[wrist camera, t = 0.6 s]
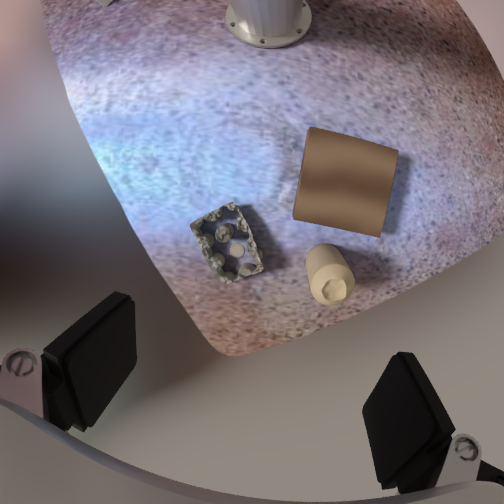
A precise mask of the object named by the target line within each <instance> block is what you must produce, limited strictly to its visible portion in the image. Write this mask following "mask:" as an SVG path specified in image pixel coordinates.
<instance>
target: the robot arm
mask: <svg viewBox="0 0 504 504" xmlns="http://www.w3.org/2000/svg"><path fill="white" fill-rule="evenodd" d="M229 1H230V4H229V6H228V8H227V11H226V23H227V26H228V28H229V30H230V31H231V33H232V34H233V35H234V36H235V37H236V38H237V39H239V40H240V41H242V42H244V43H246V44H248V45H251V46H255V47H260V48H278V47H283V46H287V45H290V44H292V43H294V42H296V41H298V40H299V39H301V38H302V37H303V36H304V35H305V34H306V33H307V31H308V30H309V28H310V25H311V20H312V14H311V9H310V7H309V5H308V4H307V2H306V1H305V0H229ZM233 26H234V27H233ZM263 42H264V44H262V43H263ZM43 351H44V353H43V354H42V355H41V356H39V354H38V353H37V352H35V351H34V350H32V349H29V348H17V349H14V350H12V351H10V352H9V353H7V354H6V356H5V357H4V358H3V361H2V365H0V504H504V472H503V471H501V470H500V469H497V468H496V467H494V466H491V465H490V464H488V463H486V462H484V461H482V460H481V448H480V445H479V443H478V442H477V441H476V440H475V438H473V437H471V436H470V435H467V434H458V435H456V436H455V437H454V438H453V439H452V437H451V435H452V433H453V432H454V431H455V430H456V429H455V427H454V425H453V423H452V421H451V419H450V417H449V415H448V414H447V411H446V410H445V408H444V406H443V404H442V402H441V400H440V399H439V396H438V395H437V393H436V391H435V389H434V388H433V386H432V384H431V382H430V380H429V379H428V377H427V375H426V374H425V372H424V370H423V368H422V367H421V365H420V363H419V362H418V360H417V358H416V357H415V355H414V354H413V353H409V352H398V353H397V354H396V355H393V356H392V358H391V359H390V361H389V363H388V365H387V367H386V369H385V370H384V372H383V374H382V376H381V377H380V379H379V381H378V383H377V385H376V386H375V388H374V389H373V391H372V393H371V394H370V396H369V398H368V399H367V401H366V403H365V404H364V406H363V410H362V414H363V418H364V422H365V426H366V430H367V434H368V439H369V443H370V447H371V452H372V457H373V461H374V466H375V471H376V476H377V480H378V482H379V483H381V486H382V490H384V489H392V488H395V487H398V492H397V494H396V495H395V496H389V497H383V498H376V499H367V500H356V501H341V502H293V501H279V500H268V499H260V498H252V497H245V496H239V495H233V494H227V493H222V492H218V491H213V490H209V489H204V488H200V487H196V486H192V485H188V484H185V483H182V482H178V481H175V480H171V479H168V478H165V477H162V476H159V475H156V474H154V473H151V472H148V471H145V470H143V469H140V468H138V467H135V466H133V465H130V464H128V463H126V462H123V461H121V460H119V459H117V458H114V457H112V456H110V455H108V454H106V453H104V452H102V451H100V450H98V449H96V448H94V447H92V446H90V445H88V444H86V443H84V442H82V441H80V440H78V439H77V438H75V437H73V436H71V435H70V434H69V432H68V430H69V429H70V428H71V426H73V427H75V428H77V429H78V430H80V431H82V432H85V430H86V429H87V427H92V426H93V425H94V424H95V423H96V421H97V419H98V418H99V417H100V415H101V414H102V412H103V411H104V410H105V408H106V407H107V405H108V404H109V402H110V401H111V400H112V398H113V397H114V395H115V394H116V393H117V391H118V390H119V388H120V387H121V385H122V384H123V383H124V381H125V380H126V378H127V377H128V375H129V374H130V373H131V371H132V370H133V369H134V367H135V365H136V362H137V353H136V330H135V302H134V301H132V300H131V297H130V296H129V295H126V294H123V293H120V292H116V291H115V292H113V293H112V294H111V295H109V296H108V297H107V298H106V299H104V300H103V301H102V302H100V303H99V304H98V305H97V306H95V307H94V308H93V309H91V310H90V311H89V312H88V313H86V314H85V315H84V316H83V317H81V318H80V319H79V320H78V321H77V322H75V323H74V324H73V325H72V326H70V327H69V328H68V329H67V330H66V331H64V332H63V333H62V334H61V335H60V336H58V337H57V338H56V339H55V340H54V341H53V342H51V343H50V344H49V345H48V346H47V347H46V348H44V349H43Z"/></svg>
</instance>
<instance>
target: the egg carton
mask: <svg viewBox="0 0 504 504" xmlns="http://www.w3.org/2000/svg"><path fill="white" fill-rule="evenodd" d="M224 206H226V207H227V208H228V209H229V210H232V211H234V210H237V211H238V212H239V215H240V216H239V218H238V219H237V222H236V225H237V229H238V230H240V231H243V232H249V235H250V236H249V239H248V241H247V243H248V244H247V248H248V252H249V253H251V254H252V255H253V256H254V259H255V262H256V265H257V266H255V267H254V266H253V265H252V264H251V263H244V264H242V265H241V267H240V269H239V272H238V274H236V275H235V274H233V273H232V272H229V271H227V272H224V270H223V269H222V267H223V265H224V263H225V257H224V256H223V255H222V254H221V253H218V252H217V253H214V252H213V251H212V249H211V247H212V245H213V244H214V237H213V235H212V234H210V233H203V232H202V230H201V229H200V227H201V226H202V225H203V223H204V219H205V220H206V221H217V220H218V218H219V217H221V216H222V214H223V207H224ZM224 206H222V207H221V208H219V209H217V210H214V211H212V212H211V213H209V214H207V215H205V216H203V217H200V218H199V219H197V220H196V221H194V222H193V223H192V224H190V228H191V230H192V232H193V234H194V236H195V237H196V239H197V241H198V244H199V245H200V249H201V251H202V253H203V255H204V256H205V259H206V261H207V262H208V264H209V266H210V269H211V271H212V273H213V275H214V277H215V278H216V279H217V280H218V281H220V282H222V283H224V284H228V283H232V282H234V281H236V280H239V279H242V278H244V277H246V276H249V275H251V274H252V275H253V274H256V273H258V272H261V271H264V270H265V269H263V265H262V264H261V259H262V258H263V253H262V251H261V249H257V246H256V244H255V242H254V240H253V233H252V232H251V230H250V228H249V226H248V224H247V222H246V221H245V219H244V217H243V216H242V211H241V209H240V208H238V207H237V206H235V205H234V204H233V202H231V203H229V204H226V205H224ZM233 234H234V228H233V226H232V225H231V224H229V223H223V224H221V225H220V226H219V227H218V228H217V230H216V231H215V237H216V240H218V241H220V242H222V243H226V242H229V241H230V239H231V237H232V236H233ZM244 252H245V249H244V247H243V246H242V245H241V244H238V243H235V244H233V245H232V246H231V247H230V254H231V255H232V256H233V257H235V258H240V257H242V256H243V255H244Z"/></svg>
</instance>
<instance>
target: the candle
mask: <svg viewBox="0 0 504 504" xmlns="http://www.w3.org/2000/svg"><path fill="white" fill-rule="evenodd" d="M306 268H307V273H308V278H309V283H310V287H311V292H312V294H313V296H314V298H315V299H316V300H317V301H318V302H320V303H322V304H325V305H337V304H340V303H342V302H344V301H345V300H347V299H348V298H349V297H350V296H351V294H352V292H353V290H354V287H355V278H354V275H353V273H352V272H351V270H350V268H349V266H348V265H347V263H346V261H345V260H344V258H343V256H342V255H341V253H340V252H339V250H338V249H337V248H335V247H334V246H332V245H330V244H320V245H317V246H315V247H314V248H312V249H311V250H310V252H309V253H308V255H307V258H306Z"/></svg>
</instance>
